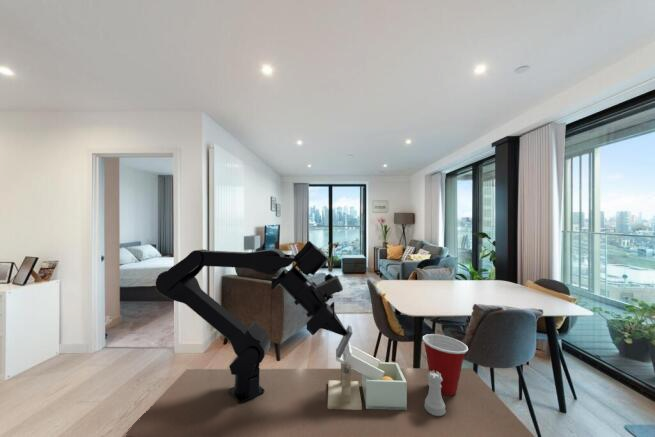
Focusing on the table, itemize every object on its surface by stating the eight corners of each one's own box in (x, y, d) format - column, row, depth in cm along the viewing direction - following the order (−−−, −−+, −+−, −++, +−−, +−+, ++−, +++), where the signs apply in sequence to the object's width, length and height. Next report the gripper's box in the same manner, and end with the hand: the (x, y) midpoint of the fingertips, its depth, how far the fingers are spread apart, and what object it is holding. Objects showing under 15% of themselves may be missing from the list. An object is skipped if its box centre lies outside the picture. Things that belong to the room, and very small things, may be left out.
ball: (400, 380, 64) (397, 397, 64) (386, 371, 67) (383, 387, 67) (391, 384, 62) (387, 401, 61) (377, 374, 65) (373, 391, 64)
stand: (327, 409, 59) (328, 367, 60) (328, 383, 70) (329, 347, 70) (361, 410, 59) (362, 368, 60) (357, 384, 69) (358, 348, 70)
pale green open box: (366, 408, 60) (366, 380, 60) (361, 385, 69) (362, 361, 69) (406, 410, 60) (406, 382, 60) (397, 386, 69) (397, 362, 69)
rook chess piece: (436, 419, 57) (436, 380, 57) (419, 407, 61) (419, 371, 61) (450, 413, 59) (450, 376, 59) (433, 401, 63) (433, 366, 63)
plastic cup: (475, 405, 62) (474, 352, 62) (425, 398, 64) (425, 347, 64) (461, 380, 72) (461, 335, 73) (419, 375, 74) (419, 331, 75)
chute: (336, 360, 62) (349, 332, 62) (336, 349, 68) (348, 324, 68) (379, 383, 62) (392, 355, 62) (375, 369, 67) (387, 344, 68)
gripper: (321, 270, 57) (374, 323, 56) (324, 261, 76) (364, 300, 75) (284, 308, 57) (337, 361, 56) (296, 289, 75) (336, 329, 74)
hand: (345, 334), depth 65 cm, fingers closed, pressing on chute
